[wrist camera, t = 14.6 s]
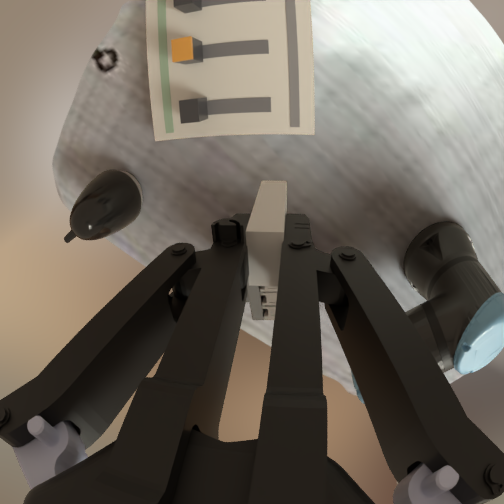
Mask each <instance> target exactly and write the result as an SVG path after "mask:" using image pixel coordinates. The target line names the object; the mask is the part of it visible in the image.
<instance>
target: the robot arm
mask: <svg viewBox="0 0 504 504" xmlns="http://www.w3.org/2000/svg"><path fill="white" fill-rule="evenodd" d="M211 227H212V235H213V245H212V247H211V249H208V250H204V251H197V252H195V248H194V246H193V245H191V244H188V243H177V244H174V245H172V246H170V247H168V248H167V249H166V250H164V251H163V252H162V253H161V254H160V255H159V256H158V257H157V258H155V259H154V260H153V261H152V262H151V263H150V264H149V265H148V266H147V267H146V268H145V269H143V270H142V271H141V272H140V273H139V274H138V275H137V276H136V277H135V278H134V279H133V280H132V281H131V282H129V283H128V284H127V285H126V286H125V287H124V288H123V289H122V290H121V291H120V292H119V293H118V294H117V295H116V296H115V297H114V298H113V299H112V300H111V301H109V303H107V304H106V305H105V307H103V308H102V309H101V310H100V311H99V312H98V313H97V314H96V315H95V316H94V317H93V318H92V319H91V320H90V321H89V322H88V323H87V324H86V325H85V326H84V327H83V328H82V329H81V330H80V331H79V332H78V334H77V335H75V336H74V338H73V339H72V340H71V341H70V342H69V343H68V344H67V345H66V346H65V347H64V348H63V349H62V350H61V351H60V352H59V353H58V354H57V355H56V356H55V358H54V359H53V360H52V361H51V362H50V363H49V364H48V365H47V366H46V367H45V368H44V370H43V371H42V372H41V373H40V374H39V375H38V376H37V377H36V378H34V379H32V380H31V381H29V382H28V383H26V384H25V385H23V386H22V387H20V388H19V389H17V390H15V391H14V392H12V393H11V394H9V395H8V396H6V397H5V398H3V399H1V400H0V438H2V439H3V440H4V441H5V442H7V443H8V444H10V445H11V446H12V447H13V449H14V452H15V454H16V457H17V459H18V462H19V464H20V467H21V469H22V471H23V474H24V476H25V478H26V480H27V483H28V485H29V487H30V489H31V491H30V492H29V493H28V494H27V496H26V498H25V500H24V503H23V504H375V503H374V502H373V501H372V500H371V499H370V498H369V497H368V496H367V494H366V493H365V492H364V491H363V490H362V489H361V488H360V487H359V486H358V485H357V484H356V482H355V481H354V480H353V479H352V478H351V477H350V476H349V475H348V473H347V472H346V471H345V470H344V469H343V468H342V467H341V466H340V465H339V464H338V463H336V462H335V461H334V460H332V459H330V458H329V457H328V456H327V400H326V396H325V395H323V378H322V349H321V329H320V312H319V301H320V302H324V303H325V309H326V311H327V314H328V316H329V318H330V320H331V323H332V325H333V327H334V330H335V332H336V334H337V337H338V339H339V341H340V344H341V346H342V349H343V351H344V353H345V356H346V358H347V361H348V363H349V365H350V368H351V372H352V379H353V384H354V387H355V389H356V391H357V396H358V398H359V400H360V401H361V402H362V403H364V404H365V406H366V408H367V411H368V413H369V416H370V419H371V421H372V424H373V427H374V429H375V432H376V435H377V438H378V440H379V443H380V446H381V448H382V451H383V454H384V457H385V459H386V461H387V464H388V466H389V468H390V470H391V472H392V474H393V475H394V477H395V479H396V480H397V487H396V488H395V490H394V494H393V503H394V504H483V503H486V502H488V501H490V500H492V499H494V498H496V497H498V496H500V495H501V494H502V493H503V492H504V453H503V452H502V451H501V450H500V449H499V448H498V447H497V446H496V445H495V444H494V443H493V442H492V441H491V440H490V439H489V438H488V437H487V436H486V435H485V434H484V433H483V432H482V431H481V430H480V429H479V428H478V427H477V426H476V425H475V424H474V423H473V422H472V421H471V420H470V419H469V418H468V417H467V416H466V414H465V412H464V410H463V408H462V406H461V404H460V402H459V400H458V398H457V397H456V395H455V393H454V391H453V389H452V388H451V386H450V384H449V382H448V380H447V379H446V377H445V375H444V374H443V373H444V372H446V371H448V370H450V369H452V368H455V370H457V371H458V372H459V373H461V374H468V373H469V372H470V373H473V372H475V371H477V370H479V369H481V368H482V367H484V366H485V365H487V364H488V363H489V362H490V361H492V360H493V359H494V358H495V357H496V356H497V355H498V354H499V353H500V351H501V350H502V349H503V347H504V294H503V293H502V292H501V291H500V289H499V288H498V286H497V285H496V284H495V282H494V281H493V280H492V278H491V277H490V276H489V274H488V273H487V272H486V270H485V269H484V268H483V266H482V265H481V264H480V263H479V261H478V259H477V256H476V253H475V251H474V246H473V242H472V240H471V238H470V236H469V235H468V234H467V233H466V231H465V230H464V229H463V228H462V227H461V226H459V225H457V224H455V223H452V222H440V223H436V224H433V225H431V226H429V227H427V228H426V229H424V230H423V231H422V232H421V233H419V234H418V235H417V236H416V238H415V239H414V240H413V241H412V243H411V244H410V246H409V248H408V250H407V253H406V256H405V260H404V271H405V274H406V277H407V279H408V281H409V283H410V285H411V286H412V288H413V289H414V290H416V291H417V292H418V293H420V295H421V296H423V297H424V298H425V299H426V300H427V301H426V302H424V303H422V304H420V305H418V306H416V307H414V308H412V309H411V310H409V311H407V312H404V310H403V309H402V307H401V306H400V304H399V303H398V302H397V300H396V299H395V297H394V296H393V294H392V293H391V292H390V290H389V289H388V287H387V286H386V285H385V283H384V282H383V280H382V279H381V278H380V276H379V275H378V274H377V272H376V271H375V270H374V268H373V267H372V265H371V264H370V263H369V261H368V260H367V259H366V258H365V256H364V255H363V254H362V253H361V252H360V251H359V250H357V249H355V248H352V247H338V248H336V249H334V250H333V251H332V253H331V254H326V253H323V252H320V251H318V250H317V249H315V248H314V244H313V242H312V240H311V231H310V221H309V218H308V217H307V216H306V215H305V214H287V181H261V185H260V188H259V191H258V194H257V197H256V200H255V203H254V206H253V210H252V213H251V214H236V215H234V216H233V217H232V218H227V219H221V220H218V221H216V222H214V223H213V224H212V225H211ZM248 278H249V286H272V287H278V290H277V300H276V310H275V320H274V329H273V338H272V347H271V356H270V366H269V373H268V381H267V389H266V393H265V395H264V401H263V407H262V414H261V422H260V429H259V436H258V439H254V440H246V441H238V442H223V441H220V440H218V428H219V422H220V417H221V413H222V408H223V404H224V399H225V395H226V390H227V386H228V381H229V376H230V372H231V367H232V362H233V358H234V353H235V348H236V344H237V340H238V335H239V330H240V326H241V321H242V317H243V312H244V307H245V303H246V298H247V293H248V291H247V282H248ZM171 288H172V290H173V292H172V293H171V294H170V295H169V291H170V290H171ZM163 353H164V355H163ZM162 355H163V357H162V360H161V362H160V364H159V367H158V369H157V372H156V374H155V375H154V377H152V378H148V377H146V376H147V375H148V373H149V372H150V371H151V369H152V368H153V367H154V365H155V364H156V363H157V361H158V360H159V359H160V357H161V356H162ZM145 377H146V378H145ZM136 389H137V391H136ZM135 391H136V393H135V396H134V398H133V400H132V403H131V405H130V407H129V410H128V412H127V415H126V417H125V419H124V422H123V424H122V427H121V429H120V432H119V434H118V437H117V440H116V441H114V442H112V443H111V444H109V445H108V446H106V447H104V448H103V449H101V450H100V451H98V452H96V453H94V454H93V455H91V456H90V457H88V456H87V454H86V453H85V450H86V449H87V448H88V447H90V446H91V445H92V444H93V443H94V442H95V441H96V440H97V439H98V438H99V437H101V435H102V434H103V433H104V432H105V431H106V429H107V428H108V427H109V426H110V424H111V423H112V422H113V420H114V419H115V418H116V416H117V415H118V413H119V412H120V411H121V410H122V408H123V407H124V405H125V404H126V403H127V401H128V400H129V399H130V397H131V396H132V395H133V393H134V392H135Z"/></svg>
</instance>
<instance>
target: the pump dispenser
mask: <svg viewBox="0 0 504 504" xmlns="http://www.w3.org/2000/svg"><path fill="white" fill-rule="evenodd" d="M142 200H143V194H142V189H141V186H140V184H139V182H138V181H137V180H136V178H135V177H134V176H132V175H131V174H130V173H128V172H125V171H121V170H107V171H104V172H102V173H101V174H99V175H98V176H97V177H95V178H94V179H93V180H92V181H91V182H90V183H89V184H88V185H87V186H86V188H85V189H84V190H83V191H82V193H81V194H80V196H79V197H78V199H77V200H76V202H75V204H74V206H73V208H72V211H71V215H70V227H71V229H72V230H71V231H70V232H69V233H68V234H67V235H66V236H65V237H64V240H65V242H66V243H68V242H70V241H71V240H72V239H74V238H75V237H76V236H77V237H79V238H80V239H83V240H97V239H101V238H104V237H107V236H109V235H111V234H114V233H116V232H118V231H120V230H121V229H123V228H125V227H126V226H128V225H129V224H131V223H132V222H133V221H134V220H135V219H136V218H137V216H138V215H139V213H140V210H141V205H142Z"/></svg>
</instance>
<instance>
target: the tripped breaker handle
mask: <svg viewBox="0 0 504 504" xmlns="http://www.w3.org/2000/svg"><path fill="white" fill-rule="evenodd" d="M171 47H172V62H174V63H180V64H185V65H186V64H193V63H200V62H203V48H202V41H200V40H198V39H196V38H193V37H191V36H189V37H183V38H178V39H173V40H171Z"/></svg>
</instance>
